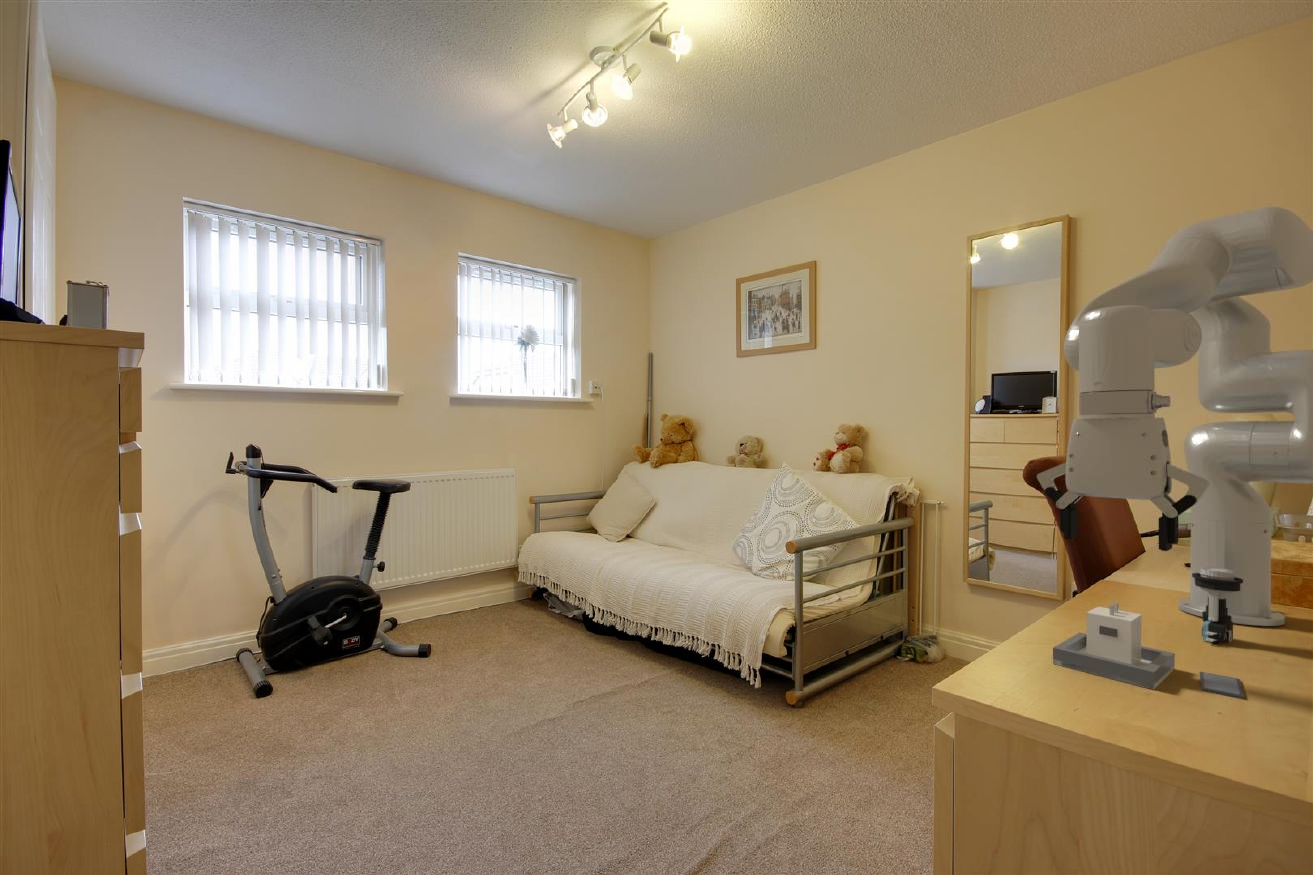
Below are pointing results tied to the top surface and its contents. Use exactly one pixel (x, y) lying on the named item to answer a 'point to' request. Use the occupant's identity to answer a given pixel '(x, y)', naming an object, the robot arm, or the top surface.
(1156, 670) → the dock
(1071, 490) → the robot arm
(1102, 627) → the charger
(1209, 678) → the phone
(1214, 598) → the push button
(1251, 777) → the top surface
